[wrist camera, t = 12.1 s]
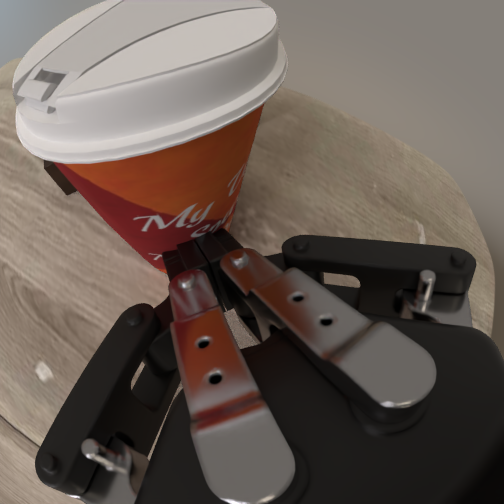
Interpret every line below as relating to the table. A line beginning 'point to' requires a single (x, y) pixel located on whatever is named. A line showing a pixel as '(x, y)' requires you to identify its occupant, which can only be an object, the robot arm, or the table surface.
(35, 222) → the table surface
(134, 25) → the paper cup
